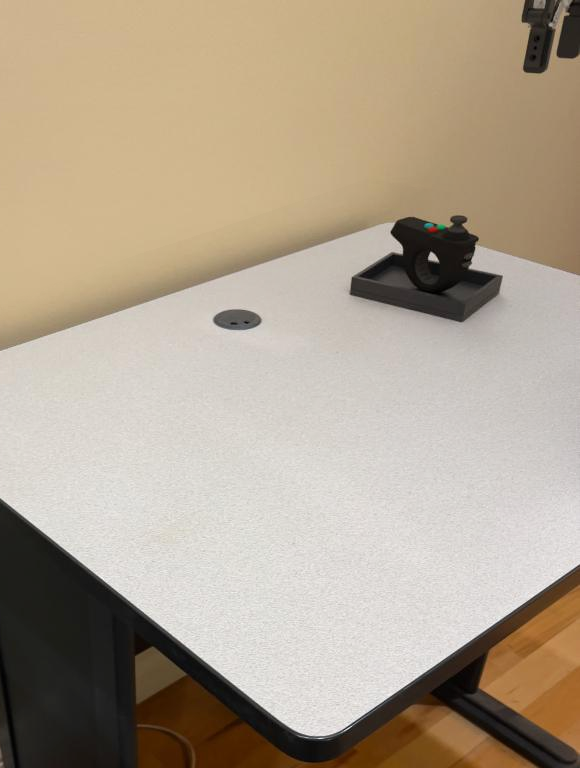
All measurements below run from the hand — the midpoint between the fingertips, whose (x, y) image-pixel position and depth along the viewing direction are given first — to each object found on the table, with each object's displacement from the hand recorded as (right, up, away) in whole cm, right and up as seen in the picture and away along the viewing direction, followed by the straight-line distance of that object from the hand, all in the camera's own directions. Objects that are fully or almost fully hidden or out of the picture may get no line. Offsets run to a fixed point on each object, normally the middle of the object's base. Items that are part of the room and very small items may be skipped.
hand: (551, 64), depth 91 cm
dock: (-3, -13, +30) cm, 33 cm away
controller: (-3, -13, +29) cm, 32 cm away
